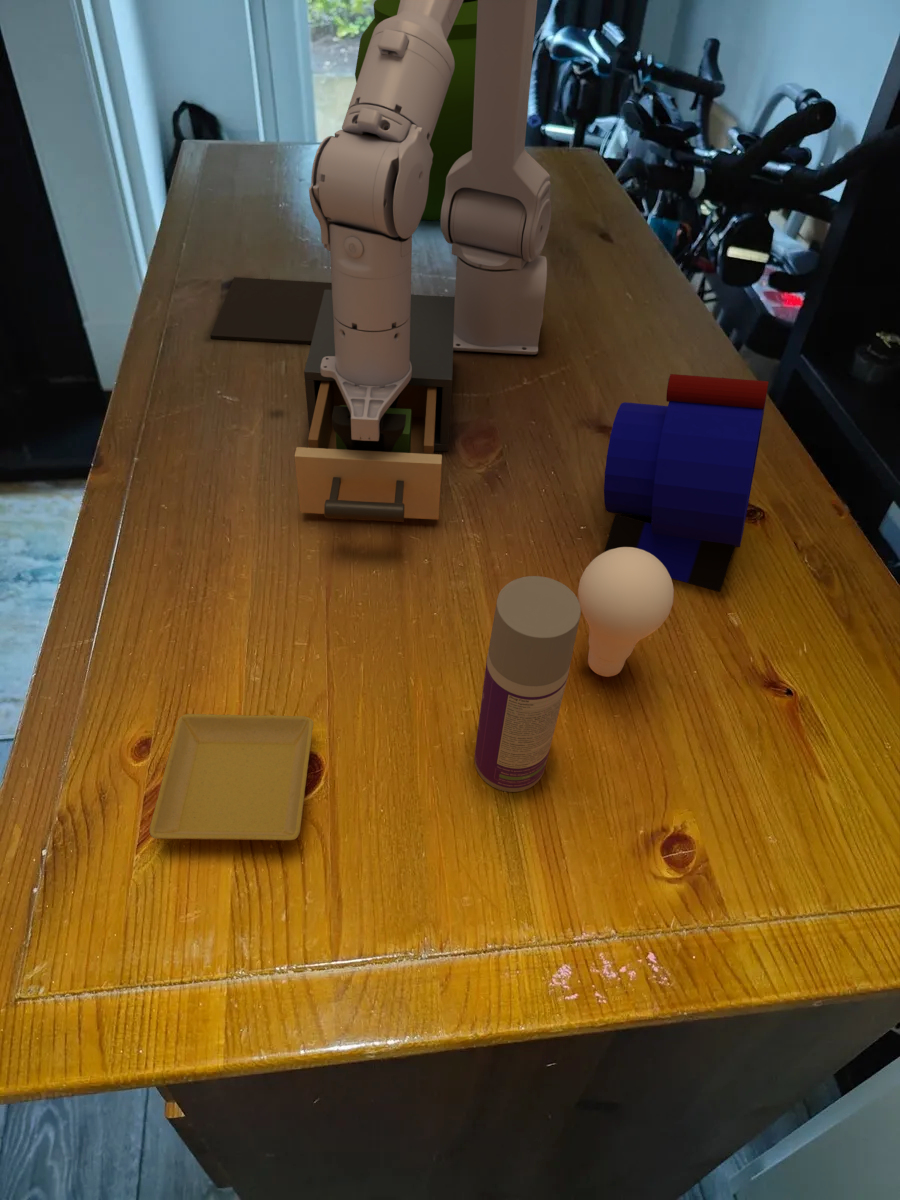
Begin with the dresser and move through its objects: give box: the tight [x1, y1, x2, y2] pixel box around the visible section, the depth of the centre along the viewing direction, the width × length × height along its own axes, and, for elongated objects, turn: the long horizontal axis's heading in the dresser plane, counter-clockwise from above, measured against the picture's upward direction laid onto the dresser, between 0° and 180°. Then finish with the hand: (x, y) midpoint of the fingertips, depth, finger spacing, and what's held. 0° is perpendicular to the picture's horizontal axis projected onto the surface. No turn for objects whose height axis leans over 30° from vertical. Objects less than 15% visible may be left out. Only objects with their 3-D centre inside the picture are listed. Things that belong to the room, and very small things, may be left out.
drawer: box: [294, 380, 443, 523], centre depth 70 cm, size 18×11×6 cm, turn 179°
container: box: [474, 575, 582, 793], centre depth 50 cm, size 5×5×15 cm
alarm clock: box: [603, 373, 770, 593], centre depth 66 cm, size 12×12×15 cm
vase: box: [354, 0, 478, 221], centre depth 105 cm, size 20×20×24 cm
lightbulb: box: [577, 547, 675, 678], centre depth 57 cm, size 6×6×11 cm
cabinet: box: [303, 290, 455, 452], centre depth 79 cm, size 15×13×8 cm
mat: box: [209, 276, 332, 345], centre depth 93 cm, size 18×13×1 cm
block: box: [335, 405, 412, 453], centre depth 71 cm, size 6×4×4 cm, turn 89°
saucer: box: [148, 713, 314, 841], centre depth 52 cm, size 9×9×2 cm
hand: (373, 460), depth 72 cm, fingers open, 5 cm apart
